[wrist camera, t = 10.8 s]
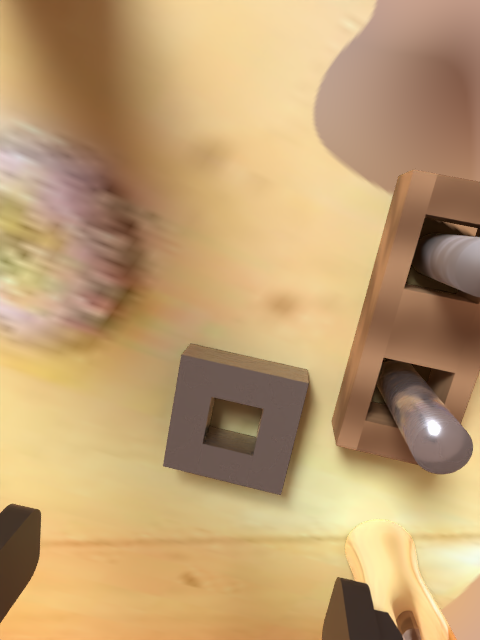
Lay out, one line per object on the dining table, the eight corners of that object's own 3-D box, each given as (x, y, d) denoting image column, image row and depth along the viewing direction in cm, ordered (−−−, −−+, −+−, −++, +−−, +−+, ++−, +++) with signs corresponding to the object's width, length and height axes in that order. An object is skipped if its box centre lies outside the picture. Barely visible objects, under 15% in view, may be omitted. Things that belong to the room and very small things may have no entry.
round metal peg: (380, 354, 34) (421, 416, 23) (421, 363, 34) (481, 429, 23) (370, 390, 35) (405, 466, 24) (409, 399, 34) (462, 479, 24)
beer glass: (323, 549, 39) (342, 747, 24) (375, 499, 37) (429, 681, 22) (382, 593, 39) (436, 815, 24) (436, 546, 37) (529, 755, 23)
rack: (398, 175, 31) (440, 158, 22) (510, 197, 30) (600, 187, 21) (331, 421, 36) (344, 486, 27) (427, 443, 35) (471, 516, 26)
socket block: (190, 343, 35) (181, 354, 33) (307, 369, 35) (308, 383, 32) (172, 447, 38) (163, 466, 35) (281, 473, 37) (280, 495, 34)
